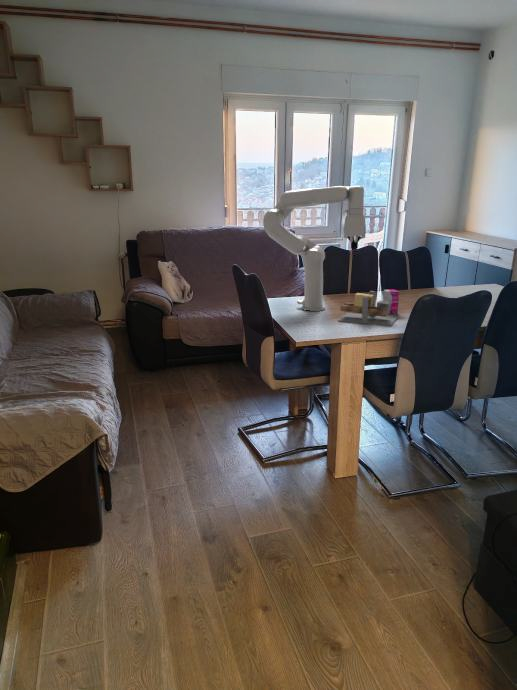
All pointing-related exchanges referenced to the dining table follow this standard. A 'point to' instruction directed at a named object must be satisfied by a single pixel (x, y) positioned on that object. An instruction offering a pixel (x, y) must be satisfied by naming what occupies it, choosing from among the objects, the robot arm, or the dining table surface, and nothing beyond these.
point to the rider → (359, 300)
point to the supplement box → (392, 300)
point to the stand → (366, 318)
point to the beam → (380, 310)
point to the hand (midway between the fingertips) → (354, 249)
